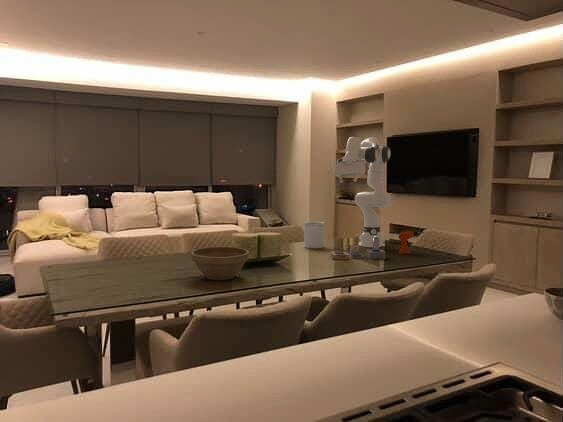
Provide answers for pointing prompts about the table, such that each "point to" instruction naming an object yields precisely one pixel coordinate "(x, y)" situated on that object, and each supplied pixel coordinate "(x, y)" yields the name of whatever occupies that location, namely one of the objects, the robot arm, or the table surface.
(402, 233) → the toy drill
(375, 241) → the drill bit
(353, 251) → the release bar
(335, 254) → the rack
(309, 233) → the utensil holder
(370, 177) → the robot arm
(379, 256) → the socket block
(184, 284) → the table surface
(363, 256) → the guide channel
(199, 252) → the flower pot
